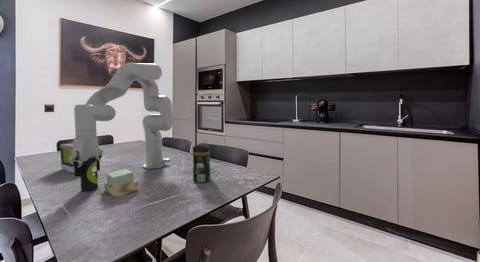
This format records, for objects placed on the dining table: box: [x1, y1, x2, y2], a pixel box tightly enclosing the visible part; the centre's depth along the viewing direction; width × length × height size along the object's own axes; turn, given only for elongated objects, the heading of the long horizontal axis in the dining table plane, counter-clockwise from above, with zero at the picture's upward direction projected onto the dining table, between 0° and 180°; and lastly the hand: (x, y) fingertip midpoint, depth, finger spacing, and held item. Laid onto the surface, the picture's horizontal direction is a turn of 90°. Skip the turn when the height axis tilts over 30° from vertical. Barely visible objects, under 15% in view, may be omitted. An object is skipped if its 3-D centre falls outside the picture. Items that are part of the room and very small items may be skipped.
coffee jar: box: [192, 142, 211, 184], centre depth 116 cm, size 10×8×19 cm
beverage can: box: [79, 156, 99, 193], centre depth 101 cm, size 6×6×15 cm
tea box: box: [59, 142, 79, 174], centre depth 133 cm, size 15×10×15 cm, turn 58°
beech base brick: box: [103, 178, 139, 198], centre depth 101 cm, size 10×10×5 cm
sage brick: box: [105, 168, 135, 187], centre depth 100 cm, size 8×8×4 cm
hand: (87, 173), depth 101 cm, fingers open, 9 cm apart
